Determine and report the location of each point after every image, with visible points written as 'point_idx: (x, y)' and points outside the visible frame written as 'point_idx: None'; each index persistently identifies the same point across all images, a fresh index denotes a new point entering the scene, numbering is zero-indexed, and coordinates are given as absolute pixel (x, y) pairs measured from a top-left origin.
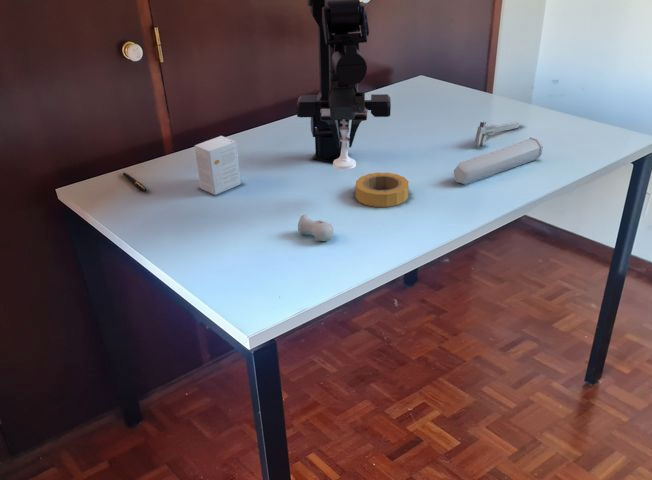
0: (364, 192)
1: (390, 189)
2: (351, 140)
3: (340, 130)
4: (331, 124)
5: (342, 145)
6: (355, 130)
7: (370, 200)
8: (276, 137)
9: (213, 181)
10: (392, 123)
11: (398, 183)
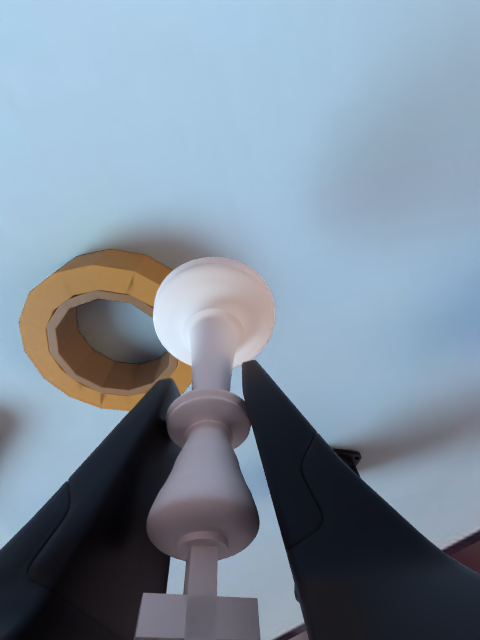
0: (144, 274)
1: (63, 311)
2: (136, 415)
3: (233, 489)
4: (382, 563)
5: (219, 377)
6: (39, 516)
7: (125, 258)
8: (444, 508)
9: None
10: (232, 576)
11: (66, 359)
